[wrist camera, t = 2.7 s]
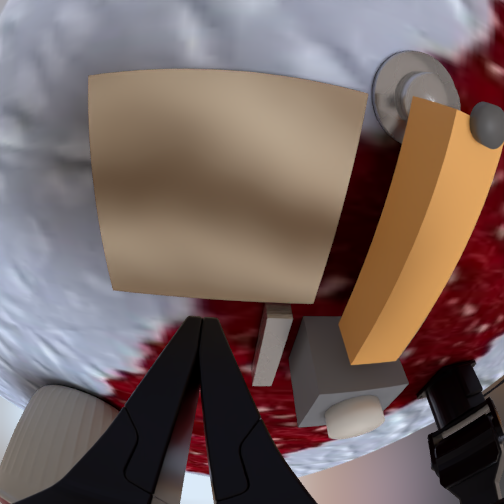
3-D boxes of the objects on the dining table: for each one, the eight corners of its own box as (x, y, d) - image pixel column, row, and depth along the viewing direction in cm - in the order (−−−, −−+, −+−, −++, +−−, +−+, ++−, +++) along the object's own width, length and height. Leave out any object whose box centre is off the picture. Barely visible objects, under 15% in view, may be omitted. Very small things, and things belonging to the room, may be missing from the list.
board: (310, 294, 18) (313, 303, 17) (116, 281, 17) (113, 290, 16) (361, 92, 11) (368, 93, 10) (96, 74, 10) (88, 75, 9)
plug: (357, 356, 23) (380, 435, 16) (288, 358, 22) (300, 446, 16) (380, 315, 20) (416, 403, 14) (303, 315, 19) (323, 418, 13)
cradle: (377, 364, 24) (383, 380, 22) (251, 369, 22) (252, 388, 21) (495, 94, 10) (516, 101, 9) (311, 18, 9) (322, 10, 8)
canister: (16, 341, 21) (-38, 519, 4) (174, 408, 27) (164, 589, 10) (29, 398, 30) (1, 514, 12) (136, 442, 36) (126, 559, 18)
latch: (380, 323, 17) (399, 369, 14) (338, 324, 17) (353, 374, 14) (465, 101, 9) (520, 121, 6) (416, 78, 9) (472, 91, 6)
